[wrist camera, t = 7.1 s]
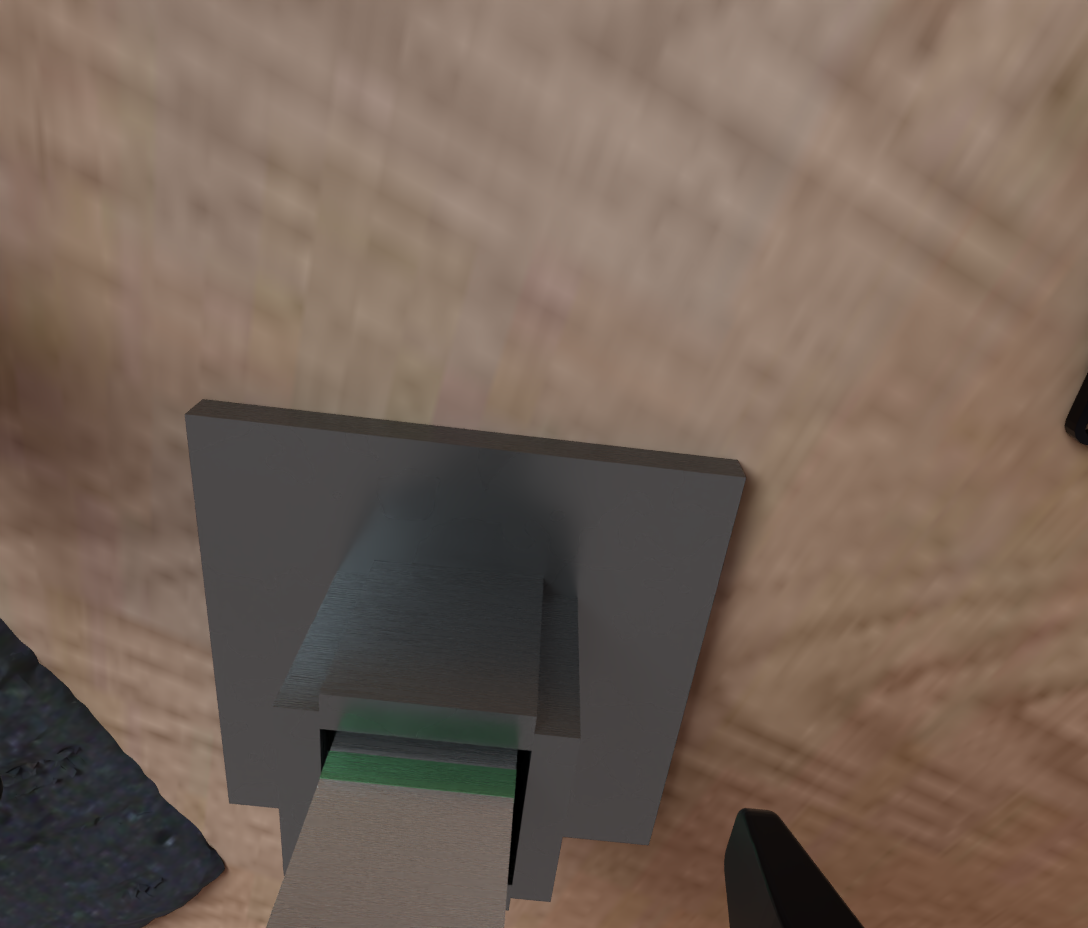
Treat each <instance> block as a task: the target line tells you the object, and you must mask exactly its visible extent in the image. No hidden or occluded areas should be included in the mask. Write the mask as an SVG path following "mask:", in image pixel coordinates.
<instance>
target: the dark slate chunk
mask: <svg viewBox="0 0 1088 928" xmlns="http://www.w3.org/2000/svg"><path fill="white" fill-rule="evenodd" d="M0 775H1V778H2V782H3V794H2V798H1V801H0V928H141V927H144V926H145V925H147V924H148V923H149V922H150V921H152V920H153V919H155V918H158V917H161V916H164V915H167V914H169V913H170V912H172V911H174V910H176V909H178V908H180V907H182V906H184V905H185V904H186V903H187V902H188V901H189V900H191V899H192V898H193V897H194V896H196V895H197V894H198V893H199V892H200V891H201V889H202V888H203V887H205V886H206V885H208V884H209V883H210V882H212V881H213V880H215V879H216V878H217V877H218V876H219V875H220V874H221V873H222V872H223V871H224V869H225V868H224V864H223V862H222V860H221V858H220V856H219V855H218V853H217V851H216V850H215V849H213V848H212V847H210V846H209V845H208V843H207V842H206V839H205V838H204V836H203V835H202V833H201V832H200V830H199V829H198V828H197V827H196V826H195V825H194V824H193V823H192V822H191V821H189V820H188V819H187V818H186V817H185V816H183V815H182V814H181V813H179V812H178V811H177V810H176V809H175V808H174V807H173V806H172V805H170V804H169V803H168V802H167V801H166V800H165V799H164V798H163V797H162V796H161V795H160V793H159V791H158V788H157V786H156V785H155V783H154V782H153V781H152V780H151V779H149V778H148V777H147V776H146V775H145V774H144V773H143V771H142V769H141V768H140V766H139V765H138V764H137V763H136V762H135V761H134V760H133V759H132V758H131V757H129V756H128V755H127V754H125V753H124V752H123V751H122V749H121V748H120V747H119V745H118V744H117V742H116V741H115V740H114V738H113V737H112V736H111V735H110V734H109V733H108V732H107V730H106V729H105V728H104V727H103V726H102V725H101V724H100V723H99V722H98V721H97V720H96V718H95V717H94V716H93V715H92V713H91V712H90V711H89V709H88V708H87V707H86V706H85V705H84V704H83V703H81V702H80V701H79V700H77V699H76V697H75V696H74V695H73V694H72V692H71V691H70V689H69V688H68V687H67V686H66V685H65V684H64V683H63V682H61V681H60V680H59V679H58V678H57V677H56V676H55V675H54V674H53V673H52V672H51V671H49V670H48V669H47V668H46V667H44V666H43V665H41V664H39V662H38V660H37V657H36V655H35V654H34V652H33V651H32V650H31V649H30V648H29V647H27V646H26V645H25V644H23V643H22V642H21V641H20V640H19V639H18V638H17V637H16V636H15V634H14V633H13V632H12V631H11V630H10V629H9V627H8V626H7V625H6V624H5V623H4V621H3V620H2V619H1V618H0Z"/></svg>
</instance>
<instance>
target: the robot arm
mask: <svg viewBox="0 0 1088 928" xmlns="http://www.w3.org/2000/svg"><path fill="white" fill-rule="evenodd" d="M1087 424H1088V373H1087V375H1086V378H1085V380H1084V382H1083V384H1082V386H1081V388H1080V390H1079V393H1078V395H1077V397H1076V399H1075V401H1074V403H1073V405H1072V408H1071V410H1070V412H1069V414H1068V416H1067V418H1066V422H1065V429H1066V432H1067V433H1068V434H1069V435H1070V436H1071V437H1072V438H1074V439H1075V440H1077V441H1078V442H1080V443H1082V444H1085V445H1088V429H1086V430H1085V428H1086V425H1087ZM2 794H3V782H2V778H1V775H0V801H1V798H2ZM724 872H725V883H726V893H727V903H728V913H729V923H730V928H864V927H863V926H862V924H861V923H860V922H859V920H858V919H857V918H856V916H855V915H854V914H853V913H852V911H851V910H850V909H849V907H848V906H847V905H846V903H845V902H844V901H843V899H842V898H841V897H840V896H839V894H838V893H837V892H836V890H835V889H834V888H833V886H832V885H831V884H830V882H829V881H828V880H827V879H826V877H825V876H824V875H823V873H822V872H821V871H820V869H819V868H818V867H817V865H816V864H815V863H814V862H813V860H812V859H811V858H810V856H809V855H808V854H807V852H806V851H805V850H804V849H803V847H802V846H801V845H800V843H799V842H798V841H797V839H796V838H795V837H794V835H793V834H792V833H791V832H790V830H789V829H788V828H787V826H786V825H785V824H784V822H783V821H782V820H781V818H780V817H779V816H778V815H777V814H775V813H774V812H772V811H769V810H760V809H749V808H744V809H742V810H740V811H739V813H738V815H737V817H736V820H735V823H734V826H733V830H732V833H731V836H730V839H729V842H728V845H727V849H726V852H725V860H724Z"/></svg>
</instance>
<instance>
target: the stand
mask: <svg viewBox="0 0 1088 928" xmlns="http://www.w3.org/2000/svg"><path fill="white" fill-rule="evenodd" d="M185 421H186V430H187V439H188V447H189V456H190V465H191V473H192V482H193V491H194V500H195V508H196V517H197V526H198V535H199V543H200V552H201V561H202V570H203V578H204V587H205V596H206V604H207V613H208V622H209V631H210V639H211V648H212V657H213V666H214V674H215V683H216V692H217V701H218V709H219V718H220V727H221V735H222V744H223V753H224V762H225V770H226V779H227V788H228V797H229V803H231V804H241V805H251V806H261V807H271V808H279V815H280V829H281V843H282V857H283V871H284V876H285V874H286V871H287V868H288V865H289V863H290V860H291V857H292V854H293V852H294V849H295V846H296V843H297V841H298V838H299V835H300V832H301V829H302V827H303V824H304V821H305V818H306V816H307V813H308V810H309V807H310V805H311V802H312V799H313V796H314V794H315V791H316V788H317V785H318V783H319V780H320V775H321V772H322V770H323V767H324V764H325V761H326V759H327V756H328V753H329V751H330V749H331V747H332V744H333V741H334V738H335V736H336V733H337V731H346V732H355V733H365V734H375V735H384V736H394V737H404V738H414V739H423V740H433V741H443V742H452V743H462V744H472V745H482V746H491V747H501V748H511V749H518V750H517V763H516V783H515V797H514V804H513V816H512V830H511V843H510V856H509V869H508V883H507V896H506V909H505V910H508V911H509V904H510V898H515V899H526V900H536V901H546V902H551V897H552V891H553V886H554V880H555V875H556V870H557V864H558V859H559V853H560V848H561V843H562V837H571V838H580V839H590V840H600V841H610V842H620V843H630V844H640V845H649V842H650V838H651V835H652V831H653V827H654V823H655V819H656V816H657V812H658V808H659V804H660V801H661V797H662V793H663V789H664V785H665V782H666V778H667V774H668V770H669V767H670V763H671V759H672V755H673V752H674V748H675V744H676V740H677V736H678V733H679V729H680V725H681V721H682V718H683V714H684V710H685V706H686V703H687V699H688V695H689V691H690V687H691V684H692V680H693V676H694V672H695V669H696V665H697V661H698V657H699V653H700V650H701V646H702V642H703V638H704V635H705V631H706V627H707V623H708V620H709V616H710V612H711V608H712V604H713V601H714V597H715V593H716V589H717V586H718V582H719V578H720V574H721V571H722V567H723V563H724V559H725V555H726V552H727V548H728V544H729V540H730V537H731V533H732V529H733V525H734V521H735V518H736V514H737V510H738V506H739V503H740V499H741V495H742V491H743V488H744V484H745V480H746V476H745V474H744V472H743V470H742V468H741V466H740V464H739V462H738V460H732V459H723V458H714V457H706V456H697V455H688V454H679V453H670V452H662V451H653V450H644V449H635V448H626V447H618V446H609V445H600V444H591V443H582V442H574V441H565V440H556V439H547V438H538V437H530V436H521V435H512V434H503V433H494V432H486V431H477V430H468V429H459V428H451V427H442V426H433V425H424V424H415V423H407V422H398V421H389V420H380V419H371V418H363V417H354V416H345V415H336V414H327V413H319V412H310V411H301V410H292V409H283V408H275V407H266V406H257V405H248V404H239V403H231V402H222V401H213V400H204V399H202V400H201V401H200V402H199V403H198V404H196V405H195V406H194V407H193V408H192V409H190V410H189V411H188V412H187V413H186V414H185Z"/></svg>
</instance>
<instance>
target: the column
mask: <svg viewBox="0 0 1088 928" xmlns="http://www.w3.org/2000/svg"><path fill="white" fill-rule="evenodd" d="M517 750H518V749H511V748H501V747H491V746H482V745H472V744H462V743H452V742H443V741H433V740H423V739H414V738H404V737H394V736H384V735H375V734H365V733H355V732H346V731H337V733H336V736H335V738H334V741H333V744H332V747H331V749H330V751H329V753H328V756H327V759H326V761H325V764H324V767H323V770H322V772H321V775H320V780H319V783H318V785H317V788H316V791H315V794H314V796H313V799H312V802H311V805H310V807H309V810H308V813H307V816H306V818H305V821H304V824H303V827H302V829H301V832H300V835H299V838H298V841H297V843H296V846H295V849H294V852H293V854H292V857H291V860H290V863H289V865H288V868H287V871H286V874H285V876H284V879H283V882H282V885H281V887H280V890H279V893H278V896H277V899H276V901H275V904H274V907H273V910H272V912H271V915H270V918H269V921H268V923H267V926H266V928H504V922H505V909H506V896H507V883H508V869H509V856H510V843H511V830H512V816H513V804H514V797H515V783H516V763H517Z"/></svg>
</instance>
